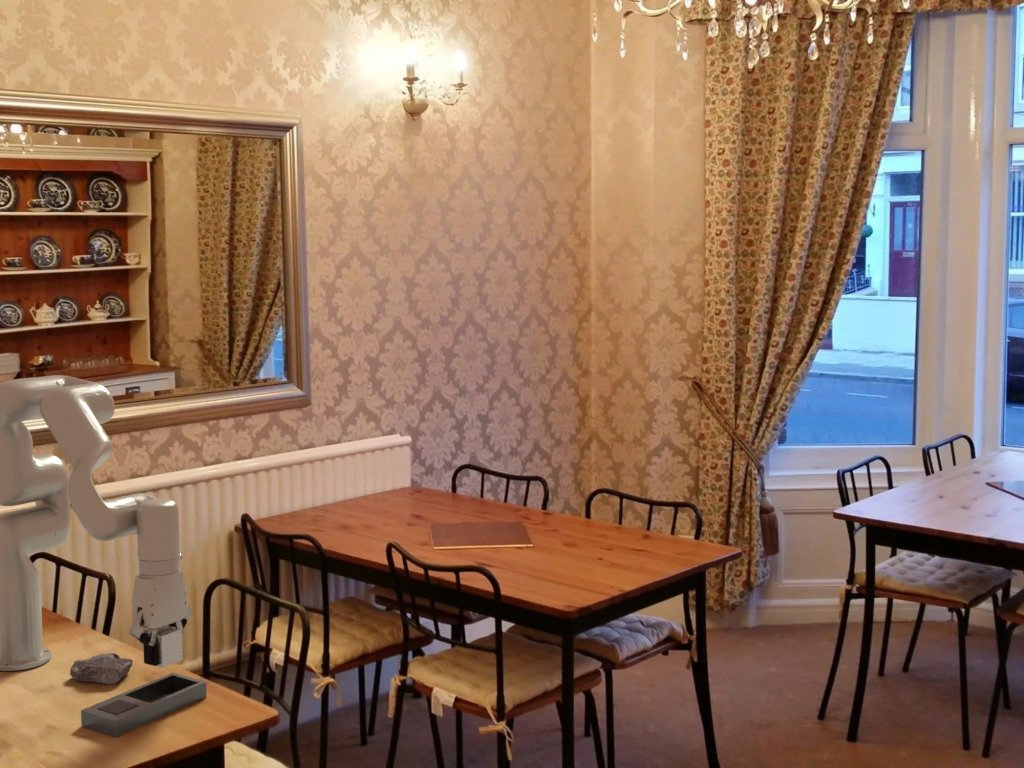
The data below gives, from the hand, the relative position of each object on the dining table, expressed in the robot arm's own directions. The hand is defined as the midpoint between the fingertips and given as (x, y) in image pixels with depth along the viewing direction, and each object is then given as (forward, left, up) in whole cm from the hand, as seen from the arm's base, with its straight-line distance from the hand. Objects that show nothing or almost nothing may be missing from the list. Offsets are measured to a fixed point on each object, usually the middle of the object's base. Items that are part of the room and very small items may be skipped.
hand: (162, 658), depth 221 cm
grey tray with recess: (0, -4, -9) cm, 10 cm away
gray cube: (0, 0, -1) cm, 1 cm away
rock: (-21, +3, -9) cm, 23 cm away
